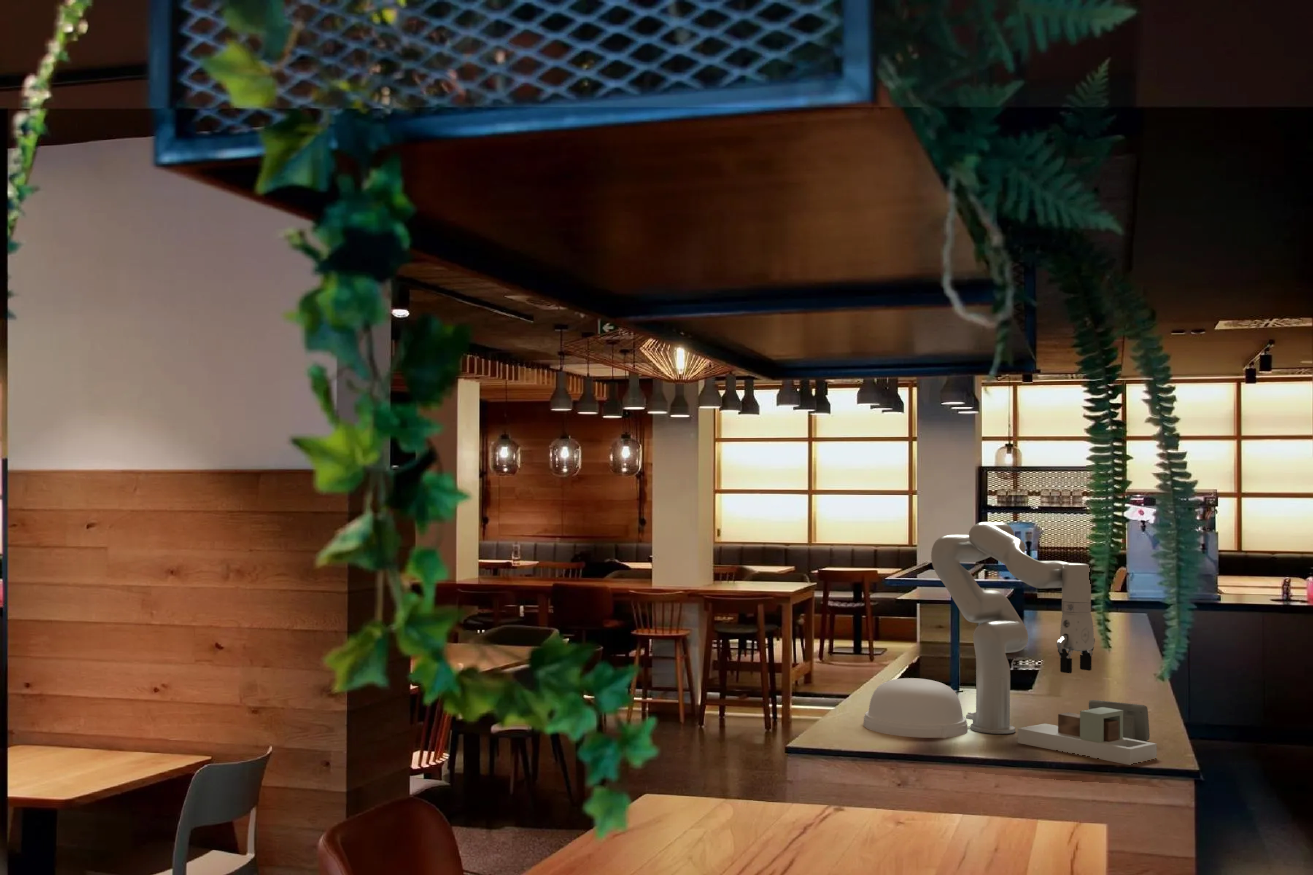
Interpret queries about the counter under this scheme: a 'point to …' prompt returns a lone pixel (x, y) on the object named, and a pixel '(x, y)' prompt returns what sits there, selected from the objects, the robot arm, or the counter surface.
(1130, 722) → the digital clock
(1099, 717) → the tunnel
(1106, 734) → the walnut bar
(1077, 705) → the counter surface
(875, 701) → the dome cover
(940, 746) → the counter surface
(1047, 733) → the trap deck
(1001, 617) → the robot arm
